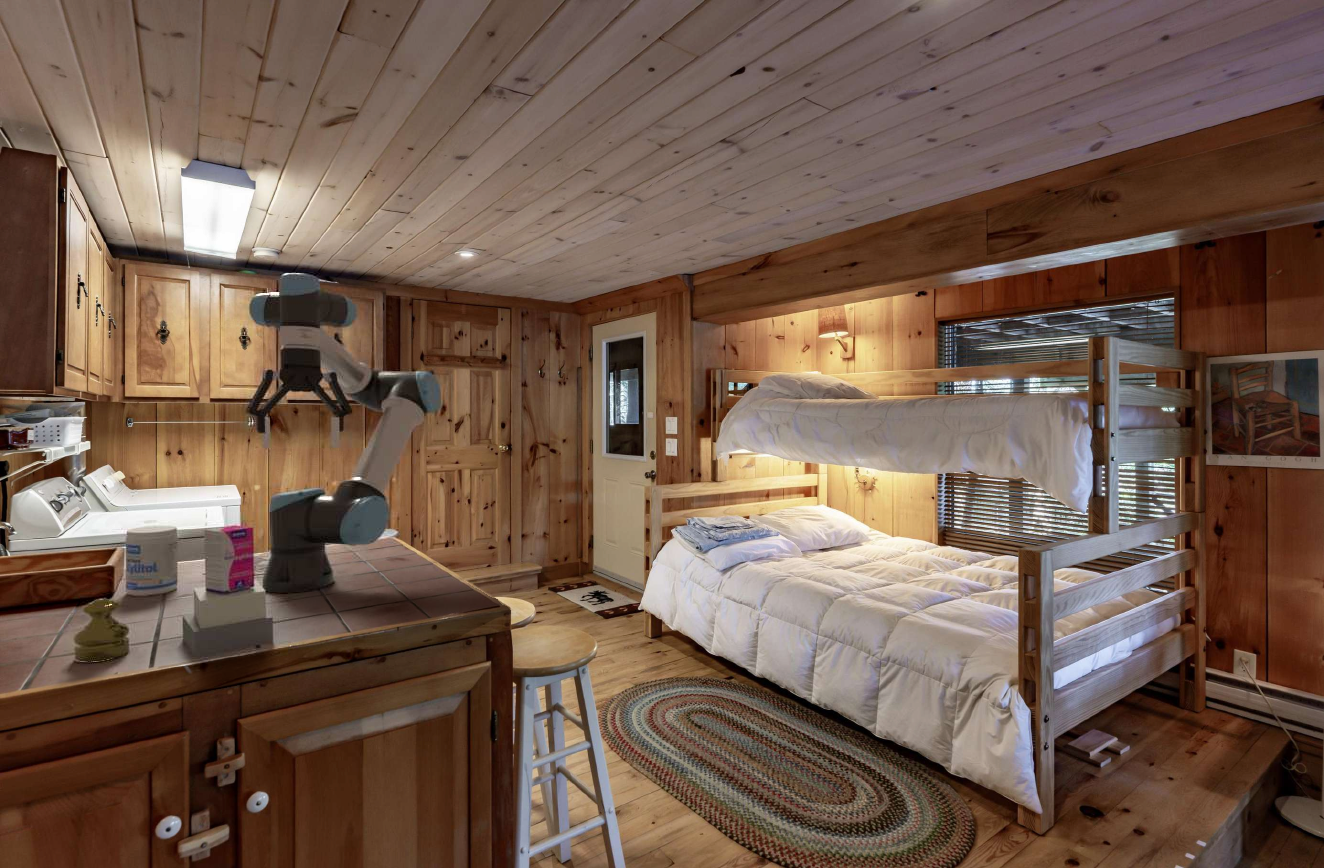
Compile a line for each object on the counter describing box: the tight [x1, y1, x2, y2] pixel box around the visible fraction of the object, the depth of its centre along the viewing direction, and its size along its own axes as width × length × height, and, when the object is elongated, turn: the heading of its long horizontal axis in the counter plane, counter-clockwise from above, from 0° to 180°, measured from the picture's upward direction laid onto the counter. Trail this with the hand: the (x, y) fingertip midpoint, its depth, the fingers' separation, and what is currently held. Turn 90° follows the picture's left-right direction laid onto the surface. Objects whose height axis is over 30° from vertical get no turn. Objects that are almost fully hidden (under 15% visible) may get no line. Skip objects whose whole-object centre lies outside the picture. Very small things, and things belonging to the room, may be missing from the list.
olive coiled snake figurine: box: [73, 597, 130, 662], centre depth 115 cm, size 7×7×10 cm
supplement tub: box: [125, 525, 179, 597], centre depth 153 cm, size 10×10×15 cm
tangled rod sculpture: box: [202, 549, 271, 575], centre depth 173 cm, size 19×14×4 cm
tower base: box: [182, 611, 274, 659], centre depth 123 cm, size 12×12×5 cm
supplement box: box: [203, 524, 255, 594], centre depth 122 cm, size 6×6×12 cm
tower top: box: [193, 579, 267, 629], centre depth 123 cm, size 10×10×5 cm
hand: (302, 447), depth 141 cm, fingers open, 13 cm apart
